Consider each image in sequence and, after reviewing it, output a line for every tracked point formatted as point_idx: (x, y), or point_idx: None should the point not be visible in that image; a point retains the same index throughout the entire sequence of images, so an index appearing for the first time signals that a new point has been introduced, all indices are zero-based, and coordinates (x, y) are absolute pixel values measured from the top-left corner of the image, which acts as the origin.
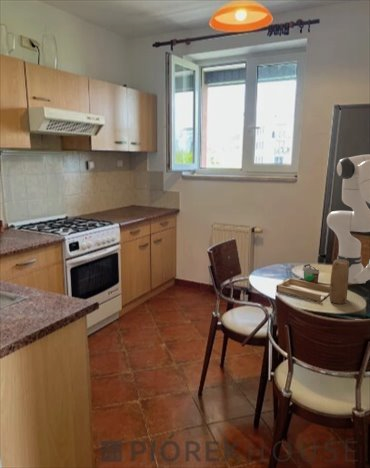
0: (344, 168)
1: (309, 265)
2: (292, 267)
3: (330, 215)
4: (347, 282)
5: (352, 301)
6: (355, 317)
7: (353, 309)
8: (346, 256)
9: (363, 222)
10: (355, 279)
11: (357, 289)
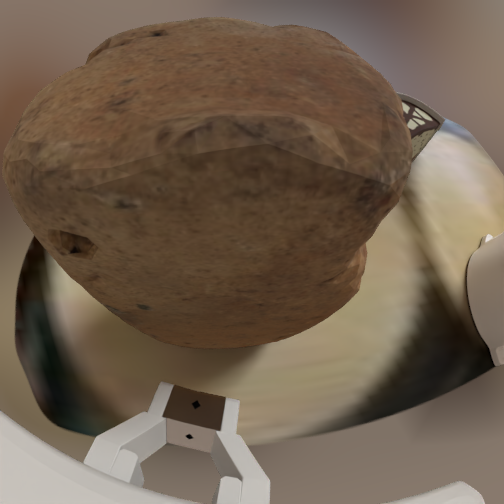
0: None
1: (436, 121)
2: (460, 137)
3: None
4: (172, 327)
5: (250, 380)
6: (39, 384)
7: (124, 387)
8: None
9: None
10: (150, 408)
11: (435, 363)
